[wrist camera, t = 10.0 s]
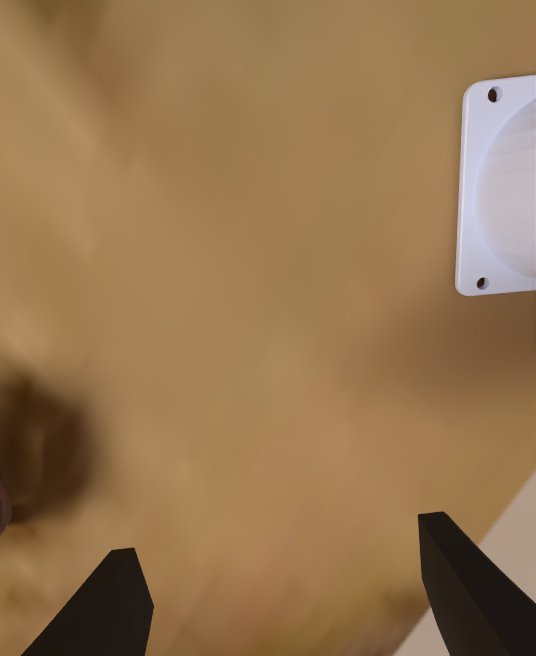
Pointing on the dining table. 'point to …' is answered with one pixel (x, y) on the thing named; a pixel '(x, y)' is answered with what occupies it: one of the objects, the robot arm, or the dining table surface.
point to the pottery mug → (4, 506)
